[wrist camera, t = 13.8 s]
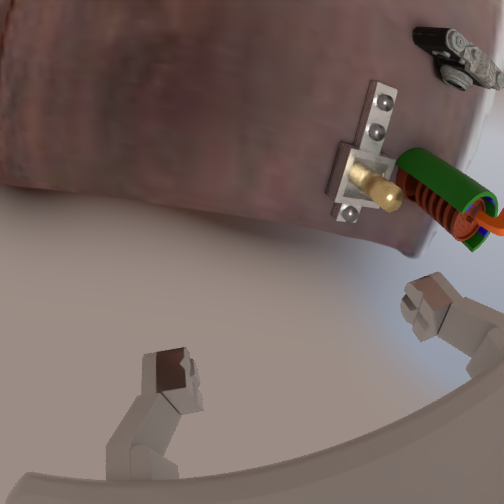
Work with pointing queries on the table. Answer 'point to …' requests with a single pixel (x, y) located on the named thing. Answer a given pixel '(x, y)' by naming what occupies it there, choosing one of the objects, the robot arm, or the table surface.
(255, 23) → the table surface
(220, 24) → the table surface
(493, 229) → the motor
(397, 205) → the link pin
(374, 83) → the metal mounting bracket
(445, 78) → the camera
